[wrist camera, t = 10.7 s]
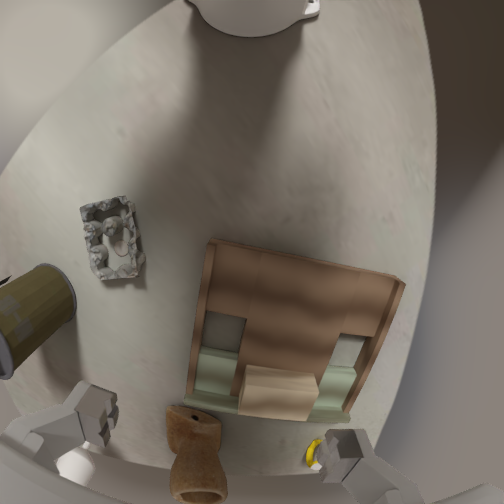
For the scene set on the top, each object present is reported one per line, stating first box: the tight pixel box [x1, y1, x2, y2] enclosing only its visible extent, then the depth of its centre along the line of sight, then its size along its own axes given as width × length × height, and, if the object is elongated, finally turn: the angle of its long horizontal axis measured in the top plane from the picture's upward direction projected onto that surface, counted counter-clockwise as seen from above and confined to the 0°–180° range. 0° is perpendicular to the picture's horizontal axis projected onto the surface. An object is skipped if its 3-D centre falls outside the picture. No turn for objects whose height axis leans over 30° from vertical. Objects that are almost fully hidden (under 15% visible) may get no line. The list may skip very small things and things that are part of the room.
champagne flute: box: [56, 441, 95, 487], centre depth 35 cm, size 7×7×24 cm
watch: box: [306, 440, 323, 470], centre depth 45 cm, size 6×3×6 cm, turn 162°
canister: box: [0, 263, 76, 380], centre depth 30 cm, size 11×10×20 cm
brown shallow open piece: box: [184, 238, 406, 423], centre depth 39 cm, size 24×26×5 cm
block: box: [238, 365, 319, 421], centre depth 39 cm, size 6×10×4 cm, turn 78°
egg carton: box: [80, 196, 146, 280], centre depth 36 cm, size 11×8×4 cm
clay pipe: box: [166, 406, 228, 504], centre depth 39 cm, size 15×12×15 cm
